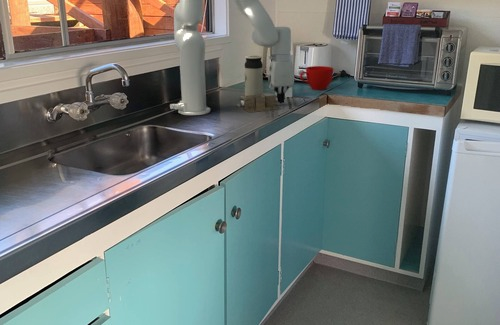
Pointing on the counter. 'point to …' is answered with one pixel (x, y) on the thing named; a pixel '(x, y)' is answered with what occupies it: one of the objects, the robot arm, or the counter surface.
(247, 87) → the travel mug
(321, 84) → the ceramic cup
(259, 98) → the hinge
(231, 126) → the counter surface
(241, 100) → the pin
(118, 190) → the counter surface
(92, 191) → the counter surface
